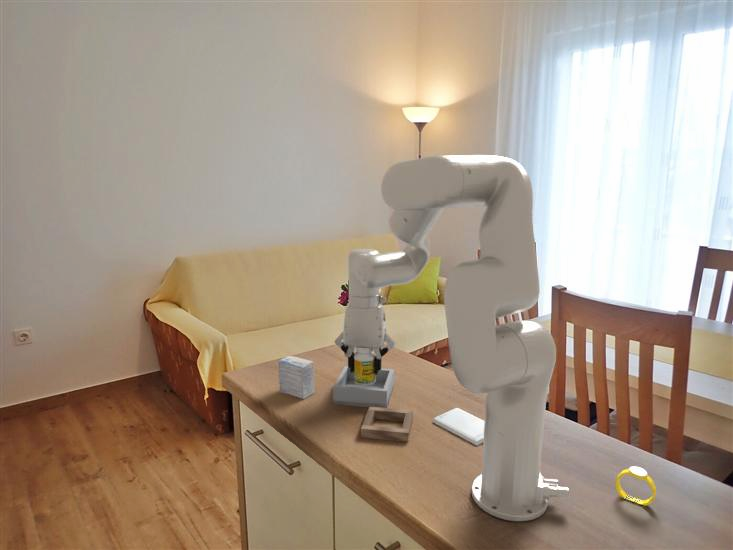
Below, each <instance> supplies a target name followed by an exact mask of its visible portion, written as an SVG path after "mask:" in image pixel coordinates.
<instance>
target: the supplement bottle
mask: <svg viewBox="0 0 733 550" xmlns="http://www.w3.org/2000/svg"><path fill="white" fill-rule="evenodd" d="M355 348H356V349H355V350H356V352H354V353H355V355H354V381H355V383H356V384H358V385H361V386H369V385H372V384H374V383H375V381H376V374H374V359H375V357H376V354H375V352H373V351H374V349H373V348H368V347H355Z"/></svg>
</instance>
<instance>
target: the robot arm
mask: <svg viewBox="0 0 733 550" xmlns="http://www.w3.org/2000/svg"><path fill="white" fill-rule="evenodd" d="M380 185H381V187H380V189H381V190H380V192H381V197H382V200H383V202H384V203H385V205H387V206H388V207H389V208H390V209H393V211H392V212H391V215H390V216H389V219H388V223H389V229H390V230H391V232H392V233H393V234H394V236H395V237H397V238H398V240H400V241H402V242H404V243H406V246H405V247H404V249H402V250H400V251H390V252H382V253H380V252H379V251H378V250H377V249H373V248H356V249H353V250H351V251H350V252H349V254H348V260H347V261H348V262H347V263H348V303H347V304H346V306H345V311H344V317H343V320H344V321H343V330H342V332H341V333H340V334H339V335H338V336H337V337H336V338H335V340H334V342H333V343H334V344H336V345H337V347H338V348H339V349H340V350H341V351H342V352H343V353H344V354H345V355H346V357H347V366H348V368H350V373H353V372H354V355H355V353H356V352H354V351H355V348H356V347H368V348H373V351H374V352H373V353H374V354H375V356H376V357H375V359H374V374H376V375H377V374H378V372H379V370H381V369H382V357H384V356H385V355H386V354H387V353H388V352H389V351H391V350H392V349H394V348H395V346H396V342H395V341H394V340H393V338H392V337H391V336H390V335H389V334H388V333H387V321H386V320H387V319H386V312H385V307H384V305H383V304H382V303H387V296H383V295H382V293H381V288H387V287H391V286H397V285H398V286H399V285H405V284H409V283H412V282H413V281H414V280H416V279H417V278H418V276H419V275H420V274H421V273H422V271H423V270H424V269H425V267H426V266H427V264H428V262H429V260H430V256H431V242H430V237H429V234H430V232H431V231H432V230H433V228H434V226H435V224H436V223H437V222H438V220H439V219H440V217H441V216H442V214H443V212H444V211H445V209H454V208H455V209H456V208H457V209H458V208H471V207H486V209H485V211H484V213H483V214H482V217H481V220H480V223H479V227H478V228H479V230H478V241H479V246H480V256H479V258H477V259H470V260H469V259H468V260H466V261H462V262H461V263H458V264H456V265H455V266H454V267H453V268H452V269H451V270H450V271H449V273H448V275H447V277H446V280H445V285H444V290H443V301H444V304H443V305H444V310H445V311H444V312H445V320H446V329H447V339H448V346H449V347H448V348H449V355H450V361H451V366H452V370H453V373H454V375H455V377H456V380H457V381H458V383H459V385H461V386H462V387H463V389H464V390H466V391H468V392H470V393H473V394H477V395H478V394H482V395H483V394H486V398H485V406H484V407H485V409H484V421H485V422H484V441H483V443H482V444H483V446H482V462H481V463H482V464H481V465H482V466H481V474H480V475H478V476H476V478H475V479H474V480H473V482H472V484H471V485H472V486H471V496H472V498H473V500H474V502H475V503H476V504H477V506H478V507H479V508H480V509H482V510H483V511H484V512H486V513H487V514H489V515H491V516H493V517H496V518H498V519H501V520H504V521H505V520H506V521H511V522H527V521H532V520H535V519H538V518H540V517H541V516H542V515H543V514H544V513H545V512H546V511H547V509H548V500H549V498H554V499H560V500H569V499H570V489H569V488H568V487H567V486H559V479H556V478H546V477H544V476H542V474H541V465H542V453H543V440H544V426H545V420H546V419H545V417H546V405H547V400H548V398H547V397H548V392H549V387H550V382H551V379H552V376H553V372H554V370H555V366H556V365H555V364H556V358H557V346H556V344H555V343H556V342H555V340H554V338H553V336H552V334H551V333H550V331H549V330H548V329H547V328H546V327H545V326H543V325H542V324H540V323H538V322H536V321H531V320H525V319H524V320H521V319H520V320H514V321H510V322H506V323H501V324H497V325H496V319H499V318H502V317H506V316H507V317H508V316H511V315H515V314H519V313H523V312H525V311H528V310H530V309H531V308H533V307H534V306H535V305H536V304H537V303H538V300H539V296H540V279H539V269H538V260H537V249H536V240H535V234H534V233H535V232H534V224H533V223H534V222H533V206H534V205H533V203H534V201H533V200H534V199H533V186H532V182H531V179H530V176H529V174H528V172H527V171H526V168H524V167H523V166H522V165H521V164H520V163H519V162H517V161H516V160H514V159H512V158H510V157H509V158H508V157H506V156H505V157H504V156H499V155H491V154H467V155H465V154H464V155H463V154H461V155H456V154H455V155H451V154H450V155H449V154H447V155H431V156H426V157H425V156H424V157H420V158H415V159H410V160H404V161H399V162H396V163H394V164H392V165H391V166H390V167H389V168H388V169H387V170H386V171H385V173H384V176H383V178H382V181H381V184H380ZM385 342H386V344H387V345H385V346H384V344H385Z"/></svg>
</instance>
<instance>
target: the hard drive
mask: <svg viewBox="0 0 733 550" xmlns="http://www.w3.org/2000/svg"><path fill="white" fill-rule="evenodd" d="M432 422H433V424H436V425H438V427H441V428H443V429H444V430H446V431H449V432H450V433H452V434H454V435H457V436H458V437H460V438H461V439H463V440H465V441H467V442H470V444H471V443H472V444H473V445H474V446H479V445H481V444H483V441H484V422H485V420H483V419H481V418H479V417H477V416H475V415H473V414H471V413H469V412H467V411H465V410H463V409H461V408H458V407H455V408H453V409H450V410H448V411H446V412H443V414H440V415H437V416H435V417H434V418H433V420H432Z"/></svg>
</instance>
